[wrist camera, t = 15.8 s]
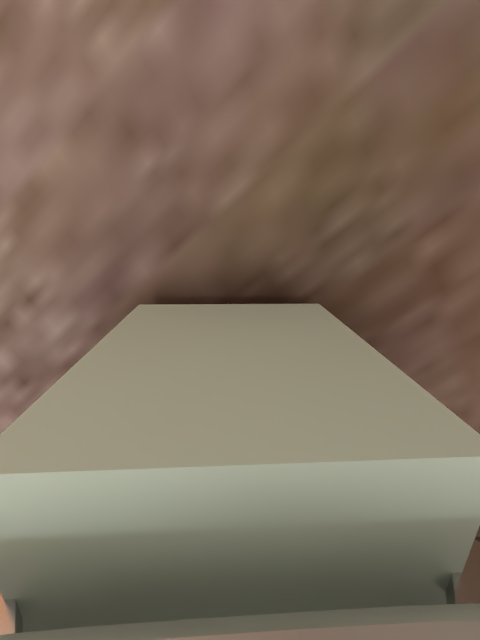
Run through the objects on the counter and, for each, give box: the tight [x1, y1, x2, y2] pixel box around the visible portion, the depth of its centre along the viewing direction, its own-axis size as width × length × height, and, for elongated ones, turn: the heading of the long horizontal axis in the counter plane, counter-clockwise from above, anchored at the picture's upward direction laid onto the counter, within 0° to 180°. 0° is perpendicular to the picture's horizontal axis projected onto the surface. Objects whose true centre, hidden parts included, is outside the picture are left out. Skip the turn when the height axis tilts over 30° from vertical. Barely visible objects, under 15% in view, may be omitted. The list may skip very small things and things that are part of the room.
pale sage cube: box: [0, 304, 480, 633], centre depth 9 cm, size 8×8×9 cm
